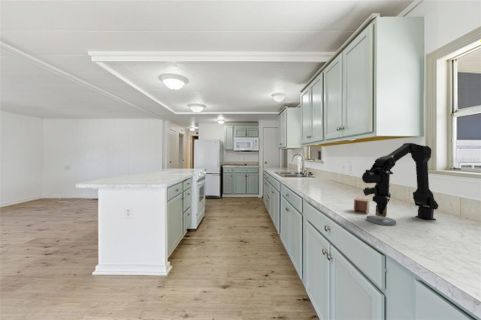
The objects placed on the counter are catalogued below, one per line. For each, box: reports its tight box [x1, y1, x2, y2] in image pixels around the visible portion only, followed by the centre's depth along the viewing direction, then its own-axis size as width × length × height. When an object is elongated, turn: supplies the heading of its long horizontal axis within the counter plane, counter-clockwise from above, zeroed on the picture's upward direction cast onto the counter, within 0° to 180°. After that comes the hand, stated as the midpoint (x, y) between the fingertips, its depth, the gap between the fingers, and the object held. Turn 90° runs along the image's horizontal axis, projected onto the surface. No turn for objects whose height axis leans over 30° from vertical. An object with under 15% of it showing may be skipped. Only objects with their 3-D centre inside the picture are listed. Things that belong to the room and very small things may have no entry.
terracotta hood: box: [353, 197, 371, 215], centre depth 134 cm, size 7×7×8 cm
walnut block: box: [374, 204, 388, 217], centre depth 116 cm, size 4×4×5 cm
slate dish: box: [365, 215, 397, 227], centre depth 116 cm, size 13×13×1 cm
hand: (381, 213), depth 116 cm, fingers closed on walnut block, 4 cm apart
